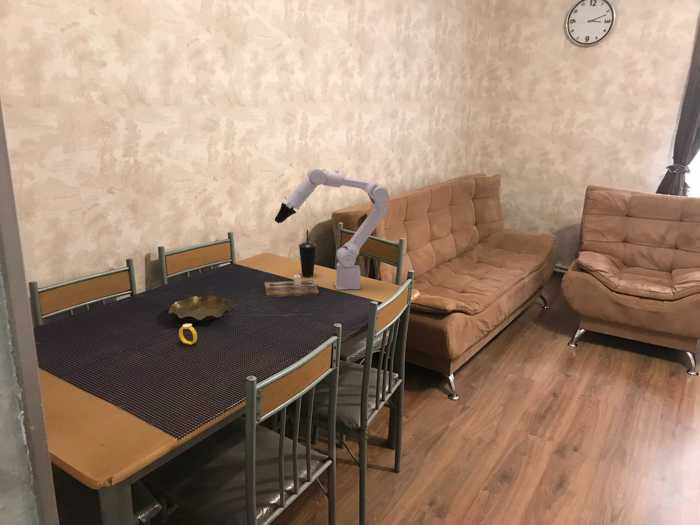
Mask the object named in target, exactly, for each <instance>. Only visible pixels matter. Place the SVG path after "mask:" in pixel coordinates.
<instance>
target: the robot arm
mask: <svg viewBox="0 0 700 525" xmlns="http://www.w3.org/2000/svg"><path fill="white" fill-rule="evenodd" d="M320 185H322V186H326V187H332V188H340V187H342V186H346V187H351V188H355V189H361V190H362V191H364V192H365V193H366V194H367V196H368V198H369V200H370V202H371V206H372V210H371V211H370V213H369V214H368V215H367V217H366V218H365V219H364V221H363V222H362V223H361V225H360V226H359V227H358V229H357V230H356V231H355V233H354V235H353V236H352V237H351V238H350V240H348V241H347V242H346V243H344V245H343V246H341V247H339V248H338V249H337V250H336V254H335V258H336V260H338V262H337V263H336V282H334V283H333V285H334V287H335V288H336V290H337V291H342V290H343V291H344V290H360V289H361V267H360V265H358V264H356V261H357V258H358V256H359V254H360V249H361V248H362V246H363V245H364V244H365V243H366V242H367V240H368V239H369V237H370V236H371V234H372V233H373V232H374V231H375V229H376V228H377V226H378V225H379V223H380V222H382V220H383V218H384V217H385V216H386V215H387V211H388V207H389V206H388V204H389V201H390V194H389V190H388V189H387V187H385V186H382V185H380V184H379V183H375V182H373V181H370V180H366V179H360V178H354V177H347V176H346V177H345V176H344V175H343V173H342V172H340V171H339V170H334V171H332V170H331V171H330V170H327V169H326V168H322V169H320V168H316V167H314V168H312V169H309V170H308V171H307V176H306V177H305V178H304V179H302V181H300V183H299V184H298V185H297V187H296V188H295V189H294V190H293V191H292V192H291V194H290V195H289V196H288V197H287V196H284V197H283V198H284V199H285V201H286V202H287V204H286V203H284V202H281V204H280V208H279V211H278V213H277V214H276V216H275V218H274V221H275V222H276V223H277V224H282V223H283V222H285V221H286V220H287V219H288V218H289V217H291V216H292V215H295V214H296V213H297V211H299V210H300V208H301V206H302V205H303V204H304V203H306V201H307V199H308V198H309V197H310V196H311V194H313V192H314V191H315V189H316V188H317V187H318V186H320ZM295 209H296V210H297V211H296V210H295Z"/></svg>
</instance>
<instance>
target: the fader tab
mask: <svg viewBox="0 0 700 525" xmlns="http://www.w3.org/2000/svg"><path fill="white" fill-rule="evenodd" d="M293 281H294V284H293V285H301V281H302V276H301V274H297V273H296V274H293Z"/></svg>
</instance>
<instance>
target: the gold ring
mask: <svg viewBox="0 0 700 525" xmlns="http://www.w3.org/2000/svg"><path fill="white" fill-rule="evenodd" d="M183 330H190V332H191V333H192V338H193V340H192V341H189V340H187V339H186V338H185V336H184V333H183V332H184V331H183ZM178 337H179V338H180V341H181V342H182V343H183V344H187V345H193V344H195V343H196V342H197V340H198V334H197V331H196V329H195V328H194V327H193V324H192V323H184V324H182V326H181V327H180V328H179V331H178Z"/></svg>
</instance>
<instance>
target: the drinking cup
mask: <svg viewBox="0 0 700 525" xmlns="http://www.w3.org/2000/svg"><path fill="white" fill-rule="evenodd" d="M298 249H299V258H300V266H301V277H303V278H312V277H314V273H315V272H314V271H315V261H316V249H317V243H313V242H310V241H309V230H307V229H306V241H304V242H301V243H299V244H298Z"/></svg>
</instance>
